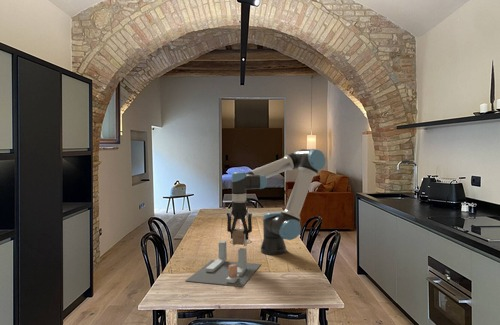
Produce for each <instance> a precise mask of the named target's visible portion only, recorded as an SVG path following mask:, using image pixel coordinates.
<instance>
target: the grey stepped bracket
mask: <svg viewBox="0 0 500 325" xmlns="http://www.w3.org/2000/svg"><path fill="white" fill-rule="evenodd" d="M227 256H228V255H227V241H226V240H220V241H219V242H218V258H217V259H215V261H214V262H213V263H212V264H210V265H209V266H208V267H207V268H206V272H214V271H215V270H216V269H217V268H219V267H220V266H221V265H222V264H223V263H224V262H225V261H227V259H228V258H227Z"/></svg>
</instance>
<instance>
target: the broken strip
mask: <svg viewBox="0 0 500 325" xmlns="http://www.w3.org/2000/svg"><path fill="white" fill-rule="evenodd" d="M237 258H238V260H237V262H238V267H237V277H235V278H231V277H229V276H228V277H227V278H226V282H227V283H235V282H236V281H237V280H238V279H239V276H241V275H242V274H243V273H244V272H245V270H246V269H247V263H248V260H247V248H245V247H242V248H241V247H240V248H239V249H238V250H237Z"/></svg>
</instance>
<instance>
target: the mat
mask: <svg viewBox="0 0 500 325" xmlns="http://www.w3.org/2000/svg"><path fill="white" fill-rule="evenodd" d="M215 260H216V259H215ZM215 260H212V259H211V260H210V261H208V263H206V264H205V265H204V266H202V267H201V268H200V269H198V270H197V271H196V272H195V273H193V274H192V275H191V276H189V277H188V278H187V279H185V282H187V283H198V284H208V285H219V286H230V287H239V288H243V287H244V286H245V285H246V283H248V281H250V279H251V277H252V276H253V275H254V274H255V273H256V272H257V270H258V269H259V268H260V267H261V265H262V263H252V262H247V269H246V270H245V272H244V273H243V274H242V275H241V276H239V279H238V280H237V281H236V282H235V283H227V282H226V278H227V277H228V276H229V265H230V264H236V265H237V267H238V261H227V260H226V261H225V262H224V263H223V264H222V265H221V266H220V267H219V268H217V269H216V270H215V271H214V272H206V268H207V267H208V266H209V265H210V264H212V263H213V262H214V261H215Z"/></svg>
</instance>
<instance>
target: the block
mask: <svg viewBox="0 0 500 325" xmlns="http://www.w3.org/2000/svg"><path fill="white" fill-rule="evenodd" d="M244 233H245V231H244V228H236V227H235V230H233V239H232V245H233V244H236V245H243V246H244Z"/></svg>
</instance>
